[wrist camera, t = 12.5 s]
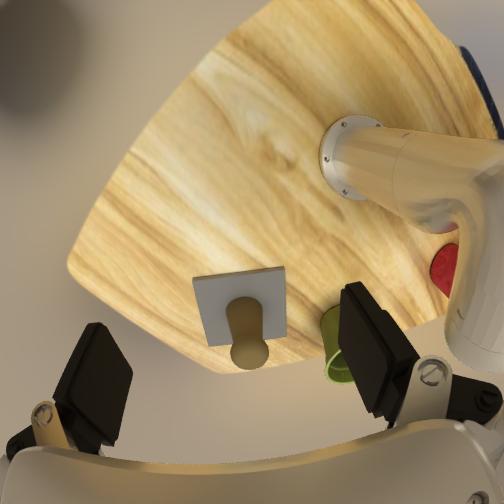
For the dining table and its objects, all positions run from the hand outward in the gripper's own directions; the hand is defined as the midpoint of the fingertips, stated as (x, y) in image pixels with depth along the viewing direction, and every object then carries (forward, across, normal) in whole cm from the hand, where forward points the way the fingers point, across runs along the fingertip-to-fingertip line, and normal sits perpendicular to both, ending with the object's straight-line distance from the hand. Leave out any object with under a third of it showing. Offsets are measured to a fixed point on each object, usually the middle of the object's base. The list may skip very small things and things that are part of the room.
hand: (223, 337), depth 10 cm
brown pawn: (+27, +1, +20) cm, 34 cm away
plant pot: (+29, -16, +28) cm, 43 cm away
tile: (+28, +1, +21) cm, 35 cm away
